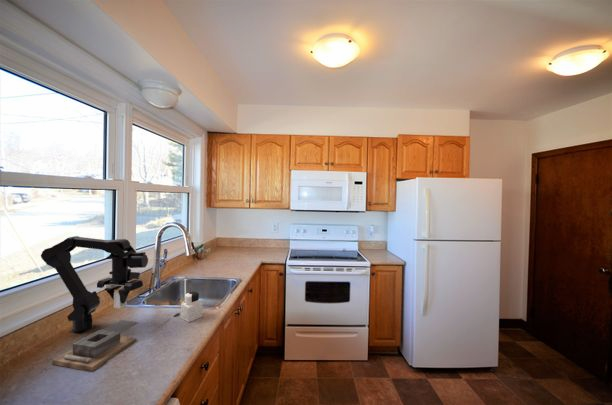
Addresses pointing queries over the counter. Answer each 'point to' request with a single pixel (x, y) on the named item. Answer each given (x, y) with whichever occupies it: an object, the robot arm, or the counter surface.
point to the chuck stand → (94, 350)
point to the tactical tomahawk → (168, 320)
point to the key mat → (121, 326)
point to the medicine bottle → (191, 307)
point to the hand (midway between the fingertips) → (120, 302)
